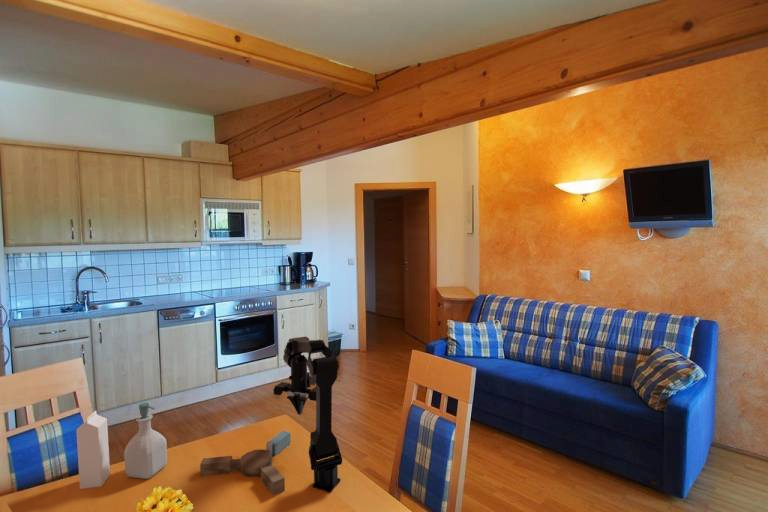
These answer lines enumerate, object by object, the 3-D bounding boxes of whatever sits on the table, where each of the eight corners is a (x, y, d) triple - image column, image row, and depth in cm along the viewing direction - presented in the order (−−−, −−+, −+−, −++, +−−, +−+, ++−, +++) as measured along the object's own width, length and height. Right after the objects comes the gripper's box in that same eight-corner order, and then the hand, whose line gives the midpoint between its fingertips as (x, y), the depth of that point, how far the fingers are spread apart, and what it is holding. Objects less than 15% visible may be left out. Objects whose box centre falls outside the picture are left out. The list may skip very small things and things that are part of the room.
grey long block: (271, 458, 141) (271, 446, 140) (263, 456, 142) (263, 444, 142) (290, 443, 151) (290, 431, 151) (282, 441, 152) (282, 430, 152)
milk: (79, 489, 125) (74, 419, 123) (89, 477, 131) (85, 410, 129) (101, 486, 126) (97, 417, 125) (110, 475, 132) (106, 408, 131)
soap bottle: (148, 482, 128) (145, 411, 127) (122, 478, 130) (118, 409, 129) (170, 464, 138) (167, 398, 136) (145, 461, 140) (142, 396, 138)
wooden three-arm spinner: (305, 469, 134) (305, 458, 134) (276, 498, 120) (276, 485, 120) (231, 450, 146) (230, 440, 146) (196, 475, 132) (195, 463, 132)
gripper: (332, 367, 152) (333, 408, 153) (289, 362, 158) (290, 401, 159) (317, 378, 141) (318, 422, 142) (271, 371, 148) (273, 414, 149)
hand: (299, 414), depth 148 cm, fingers closed
